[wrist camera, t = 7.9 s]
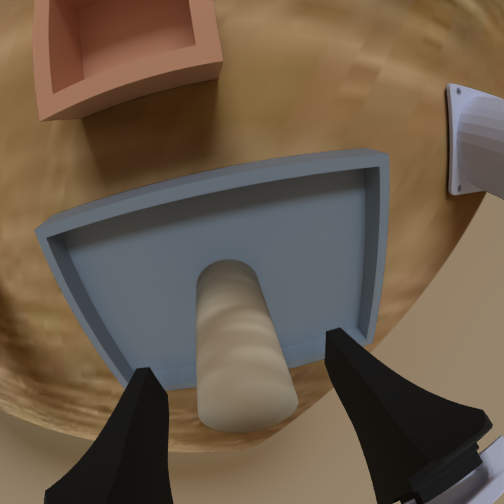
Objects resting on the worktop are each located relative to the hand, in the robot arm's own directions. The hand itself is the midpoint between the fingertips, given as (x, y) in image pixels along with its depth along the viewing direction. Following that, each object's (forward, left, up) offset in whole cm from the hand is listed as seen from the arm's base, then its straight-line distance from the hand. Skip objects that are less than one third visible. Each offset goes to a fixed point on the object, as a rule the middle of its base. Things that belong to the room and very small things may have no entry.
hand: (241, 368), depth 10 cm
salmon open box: (+2, -14, -6) cm, 16 cm away
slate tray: (0, 0, -6) cm, 6 cm away
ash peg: (0, 0, -6) cm, 6 cm away
